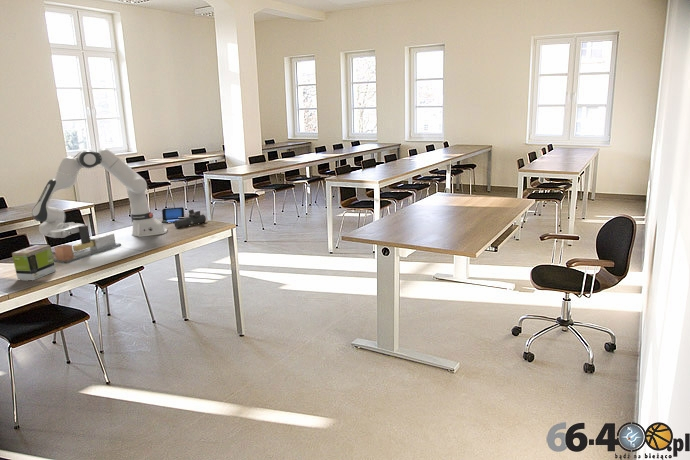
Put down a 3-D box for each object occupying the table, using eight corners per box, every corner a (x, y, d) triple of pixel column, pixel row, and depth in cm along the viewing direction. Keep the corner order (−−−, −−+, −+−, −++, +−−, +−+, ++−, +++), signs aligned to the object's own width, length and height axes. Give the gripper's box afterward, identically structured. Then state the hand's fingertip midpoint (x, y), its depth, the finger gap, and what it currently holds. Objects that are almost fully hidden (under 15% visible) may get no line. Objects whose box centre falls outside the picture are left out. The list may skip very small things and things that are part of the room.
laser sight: (173, 227, 366) (171, 213, 364) (201, 221, 382) (200, 208, 379) (180, 229, 359) (178, 215, 357) (208, 223, 375) (207, 209, 373)
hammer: (108, 240, 324) (104, 219, 321) (112, 240, 322) (109, 219, 319) (73, 250, 302) (69, 229, 299) (77, 251, 300) (73, 229, 297)
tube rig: (107, 244, 328) (105, 231, 326) (121, 245, 323) (119, 232, 321) (52, 261, 295) (49, 247, 293) (66, 263, 290) (64, 248, 288)
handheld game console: (161, 224, 379) (159, 212, 377) (163, 220, 391) (161, 208, 389) (183, 222, 382) (182, 210, 380) (185, 218, 395) (183, 206, 392)
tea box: (41, 270, 278) (36, 244, 275) (56, 271, 275) (51, 244, 272) (16, 280, 264) (10, 252, 261) (32, 281, 261) (26, 252, 258)
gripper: (44, 229, 305) (60, 230, 299) (74, 221, 323) (90, 222, 317) (46, 239, 306) (62, 241, 300) (76, 231, 324) (92, 232, 318)
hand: (77, 231), depth 309 cm, fingers open, 8 cm apart
